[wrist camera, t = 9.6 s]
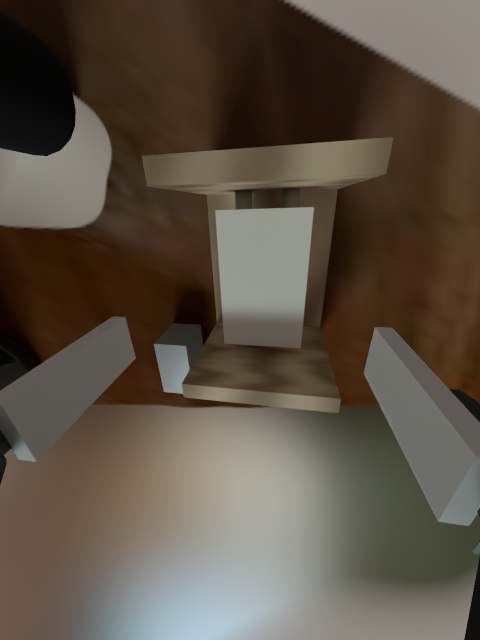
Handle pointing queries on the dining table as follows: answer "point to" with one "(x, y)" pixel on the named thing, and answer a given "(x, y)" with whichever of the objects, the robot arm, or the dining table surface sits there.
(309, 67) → the dining table surface
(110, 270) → the dining table surface
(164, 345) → the block
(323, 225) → the shelf bay
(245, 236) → the white flat block
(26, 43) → the coffee jar
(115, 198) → the dining table surface
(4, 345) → the robot arm
